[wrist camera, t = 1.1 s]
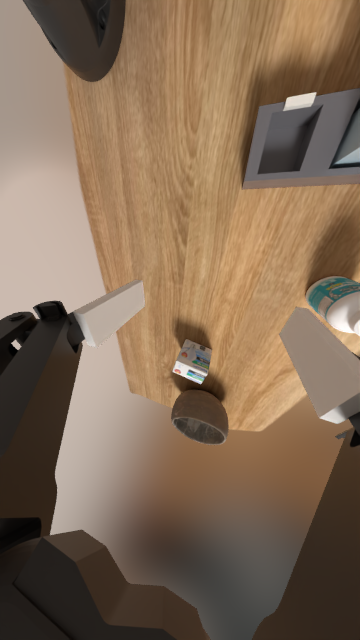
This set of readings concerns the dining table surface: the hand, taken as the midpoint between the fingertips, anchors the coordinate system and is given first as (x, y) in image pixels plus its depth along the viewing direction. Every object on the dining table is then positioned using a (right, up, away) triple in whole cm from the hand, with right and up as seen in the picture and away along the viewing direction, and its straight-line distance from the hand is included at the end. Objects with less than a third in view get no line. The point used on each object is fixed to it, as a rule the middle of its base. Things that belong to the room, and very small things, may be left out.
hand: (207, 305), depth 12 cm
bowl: (+9, -39, +55) cm, 68 cm away
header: (+18, +25, +9) cm, 32 cm away
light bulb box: (+4, -12, +39) cm, 41 cm away
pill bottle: (+30, +5, +18) cm, 35 cm away
